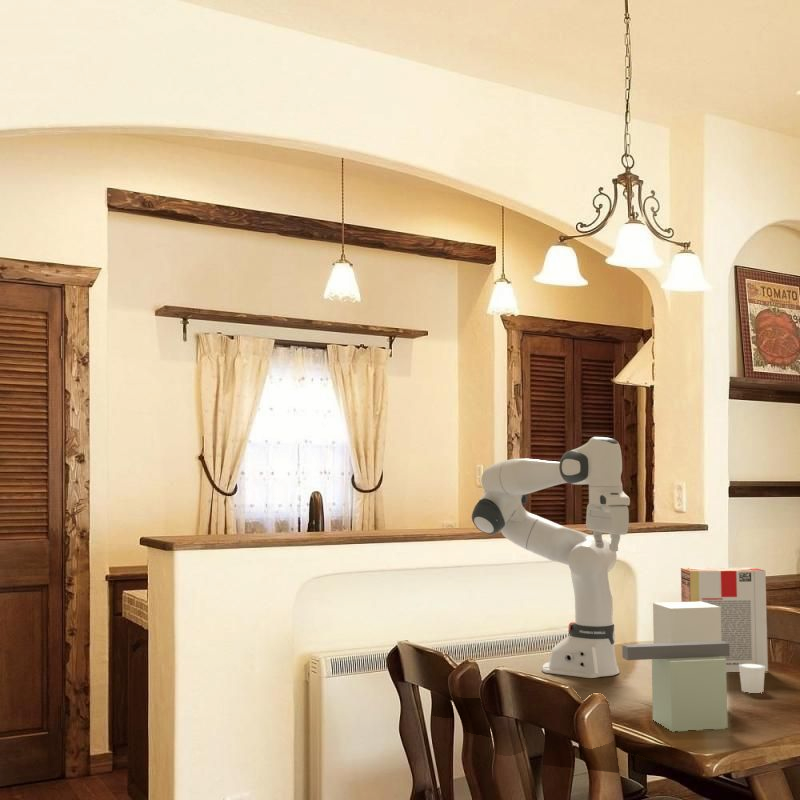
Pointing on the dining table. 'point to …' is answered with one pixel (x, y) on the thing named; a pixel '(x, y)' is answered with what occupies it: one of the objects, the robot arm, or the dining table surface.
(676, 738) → the dining table surface
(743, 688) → the shot glass
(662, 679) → the low stand
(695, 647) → the charcoal bar
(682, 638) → the tall stand
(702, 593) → the pasta box
